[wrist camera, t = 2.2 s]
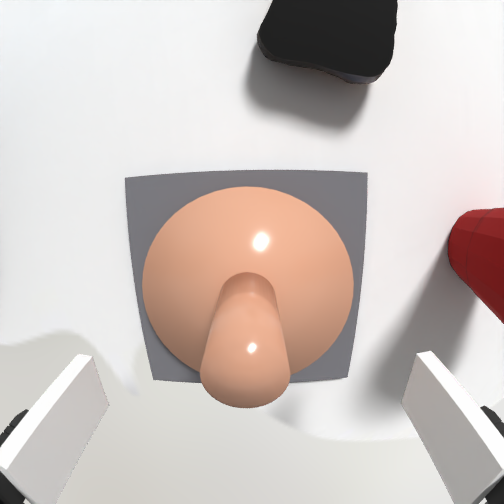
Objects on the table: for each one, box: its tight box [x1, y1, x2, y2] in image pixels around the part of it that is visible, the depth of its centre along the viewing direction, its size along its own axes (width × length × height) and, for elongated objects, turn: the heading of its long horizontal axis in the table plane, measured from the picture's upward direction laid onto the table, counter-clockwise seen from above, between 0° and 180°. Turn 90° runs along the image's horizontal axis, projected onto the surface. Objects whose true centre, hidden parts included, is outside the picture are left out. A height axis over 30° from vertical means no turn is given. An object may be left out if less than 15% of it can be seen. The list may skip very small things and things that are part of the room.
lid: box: [142, 186, 354, 408], centre depth 15 cm, size 14×14×9 cm
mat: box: [125, 170, 367, 383], centre depth 20 cm, size 16×16×1 cm
